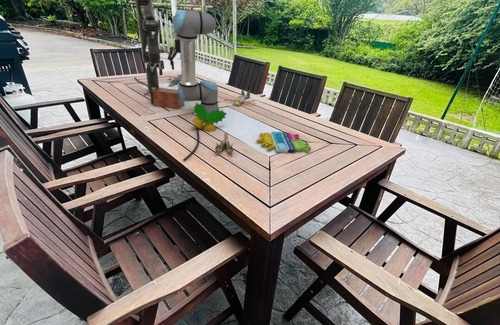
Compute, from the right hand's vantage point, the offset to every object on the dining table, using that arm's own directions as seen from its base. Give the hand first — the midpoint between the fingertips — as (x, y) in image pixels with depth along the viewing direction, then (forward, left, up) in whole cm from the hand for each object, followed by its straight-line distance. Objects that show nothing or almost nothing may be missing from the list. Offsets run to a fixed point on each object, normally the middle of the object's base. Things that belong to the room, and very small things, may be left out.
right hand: (181, 69), depth 204 cm
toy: (-9, -47, -24) cm, 54 cm away
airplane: (+61, +1, -24) cm, 66 cm away
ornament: (-66, -13, -24) cm, 71 cm away
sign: (-93, -51, -24) cm, 109 cm away
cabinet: (-16, +11, -24) cm, 31 cm away
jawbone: (-98, -16, -24) cm, 103 cm away
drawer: (-13, +16, -23) cm, 31 cm away
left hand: (-13, +18, -3) cm, 23 cm away
